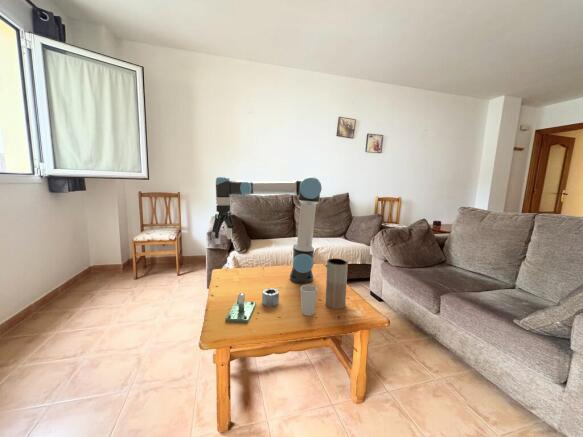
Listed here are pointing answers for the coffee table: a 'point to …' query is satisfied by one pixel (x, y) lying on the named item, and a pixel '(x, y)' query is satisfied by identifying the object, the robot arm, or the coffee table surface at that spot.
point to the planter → (336, 283)
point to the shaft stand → (241, 310)
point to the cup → (308, 299)
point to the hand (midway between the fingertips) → (224, 241)
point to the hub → (270, 297)
